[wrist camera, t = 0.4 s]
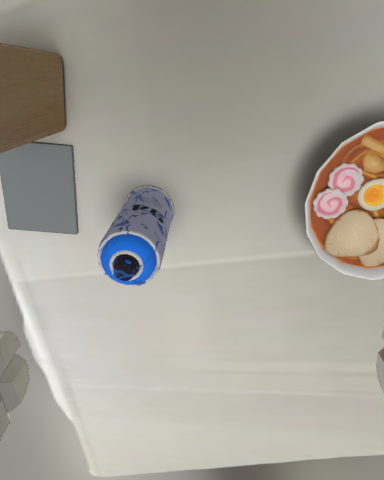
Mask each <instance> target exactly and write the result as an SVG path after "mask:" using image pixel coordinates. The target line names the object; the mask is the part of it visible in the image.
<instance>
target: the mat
mask: <svg viewBox="0 0 384 480" xmlns="http://www.w3.org/2000/svg"><path fill="white" fill-rule="evenodd" d="M0 175H1V182H2V189H3V195H4V202H5V208H6V215H7V221H8V228H9V229H16V230H28V231H40V232H52V233H64V234H76V235H77V234H78V219H77V203H76V187H75V170H74V154H73V145H61V144H49V143H38V142H30V143H28V144H25V145H22V146H19V147H17V148H14V149H11V150H8V151H6V152H3V153H0Z"/></svg>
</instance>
